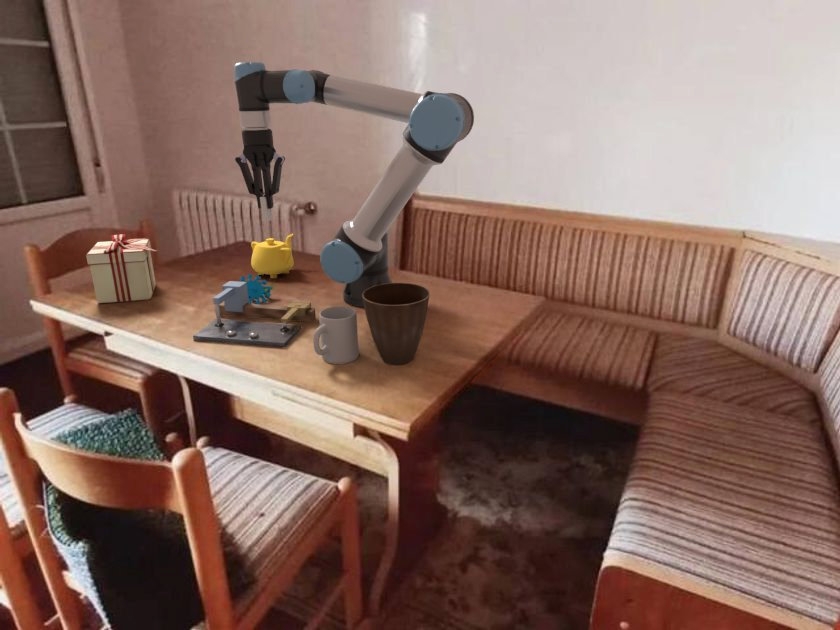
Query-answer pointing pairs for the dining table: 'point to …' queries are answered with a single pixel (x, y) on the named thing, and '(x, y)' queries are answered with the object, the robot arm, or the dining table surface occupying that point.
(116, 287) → the gift box
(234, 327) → the hole plate
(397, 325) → the plant pot
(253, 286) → the gear
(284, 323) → the fixed leg
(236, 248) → the dining table surface
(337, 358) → the mug
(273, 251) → the teapot
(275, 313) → the beam
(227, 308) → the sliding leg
